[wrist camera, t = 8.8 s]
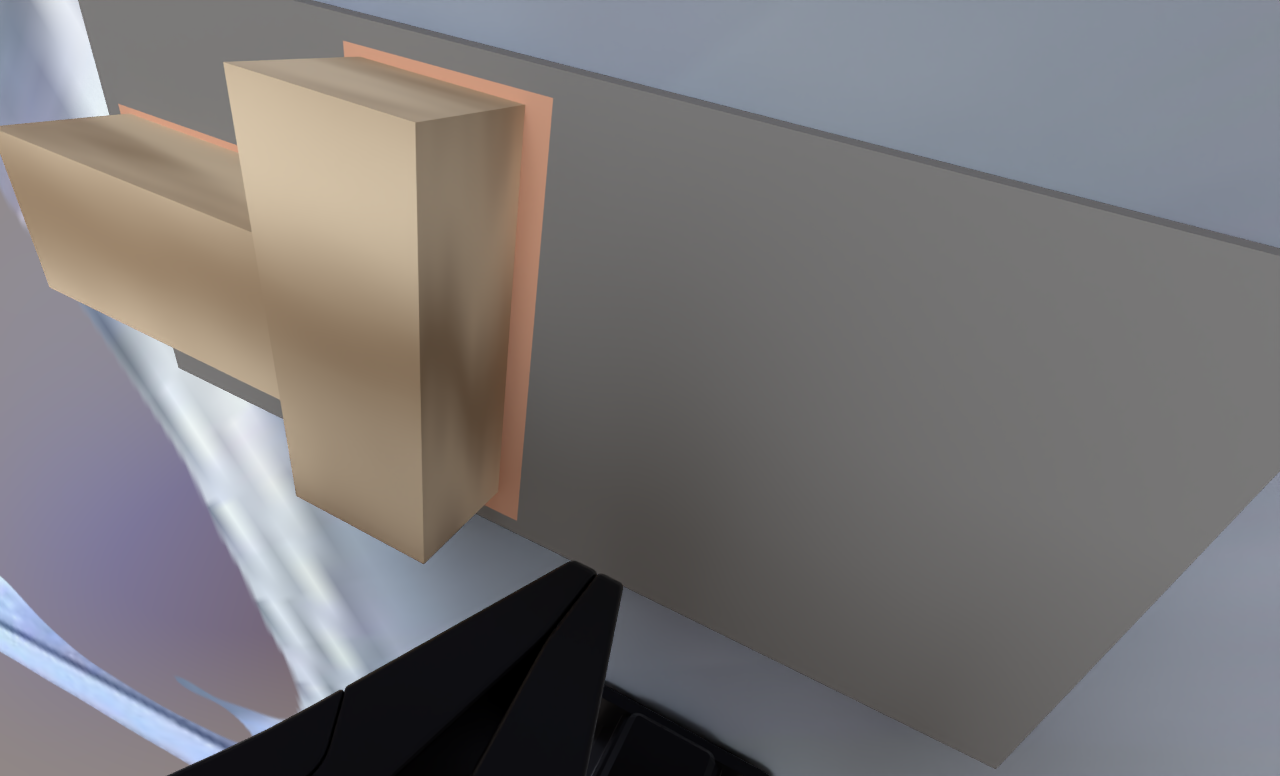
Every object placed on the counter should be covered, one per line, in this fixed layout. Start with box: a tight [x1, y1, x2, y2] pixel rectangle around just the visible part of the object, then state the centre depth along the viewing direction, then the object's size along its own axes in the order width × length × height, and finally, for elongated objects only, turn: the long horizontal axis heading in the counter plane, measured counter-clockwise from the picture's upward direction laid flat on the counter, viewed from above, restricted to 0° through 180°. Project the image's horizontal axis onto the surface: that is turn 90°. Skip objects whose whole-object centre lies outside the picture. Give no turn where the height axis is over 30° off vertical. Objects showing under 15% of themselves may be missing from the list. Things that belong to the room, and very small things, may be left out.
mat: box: [78, 0, 1280, 769], centre depth 15 cm, size 12×26×1 cm, turn 79°
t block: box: [0, 57, 525, 564], centre depth 15 cm, size 10×12×3 cm
